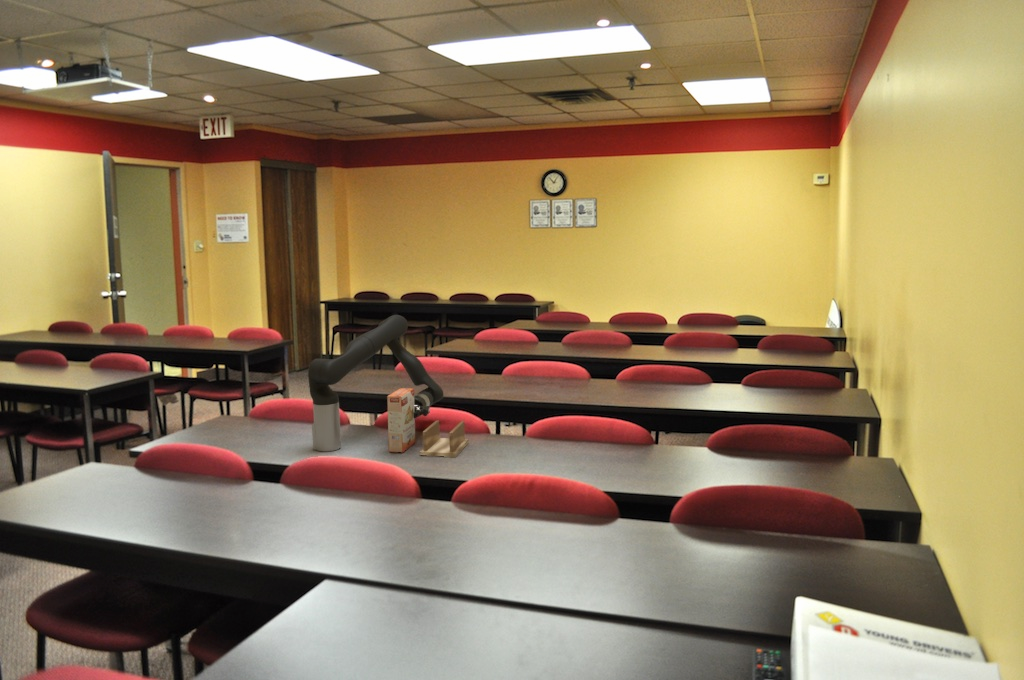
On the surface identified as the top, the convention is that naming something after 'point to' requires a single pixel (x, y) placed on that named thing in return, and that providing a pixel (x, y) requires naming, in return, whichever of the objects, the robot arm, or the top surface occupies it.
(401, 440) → the cracker box
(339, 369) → the robot arm
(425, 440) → the book rack
